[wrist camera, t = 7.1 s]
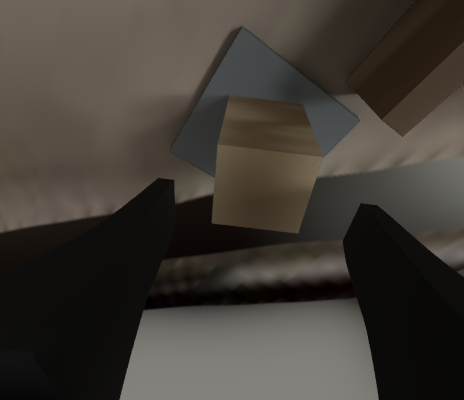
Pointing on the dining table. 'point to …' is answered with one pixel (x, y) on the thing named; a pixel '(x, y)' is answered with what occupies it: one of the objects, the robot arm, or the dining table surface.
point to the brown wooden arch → (414, 64)
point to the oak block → (264, 165)
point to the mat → (262, 87)
